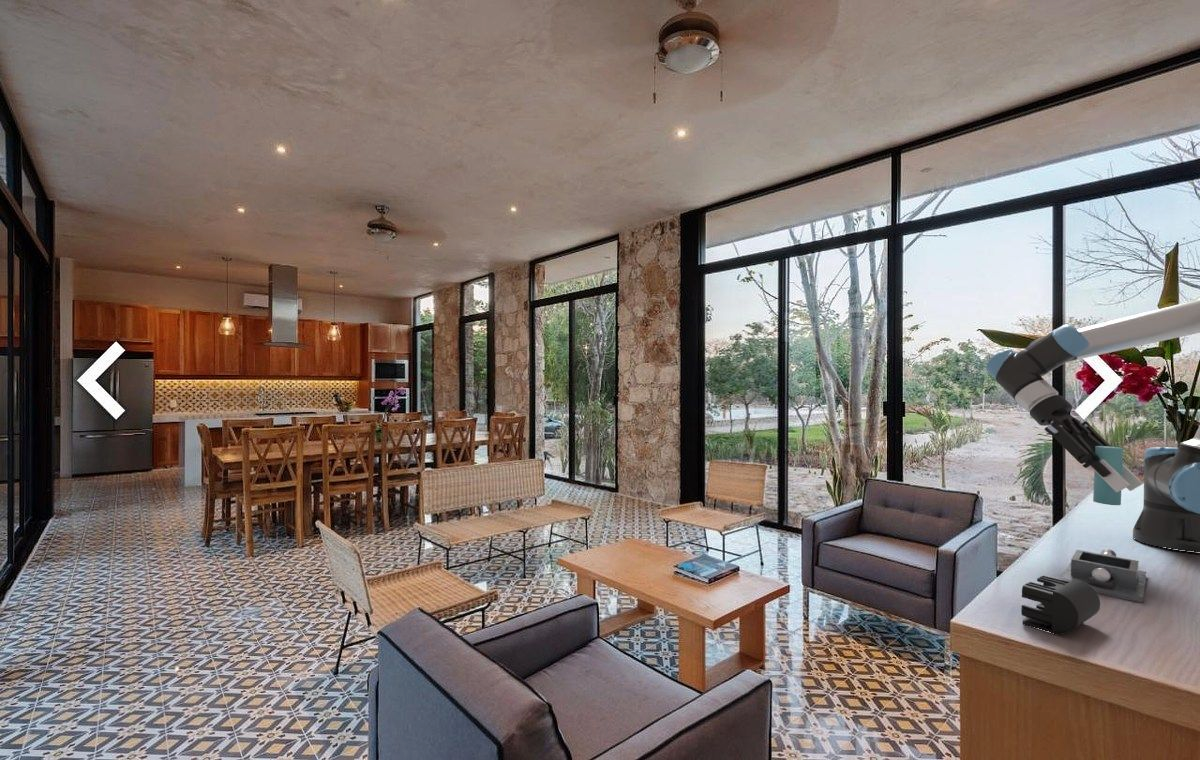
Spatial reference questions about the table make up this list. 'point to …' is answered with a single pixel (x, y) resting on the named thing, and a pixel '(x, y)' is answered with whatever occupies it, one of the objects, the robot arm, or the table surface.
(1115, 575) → the stand
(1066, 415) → the robot arm
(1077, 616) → the end cap
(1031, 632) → the table surface
